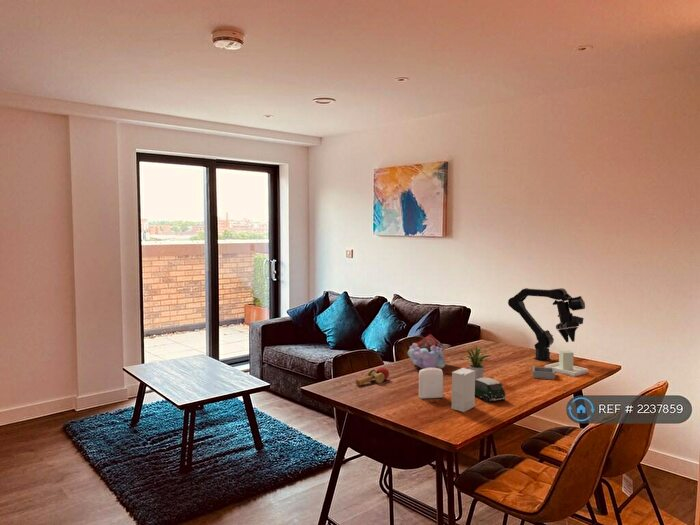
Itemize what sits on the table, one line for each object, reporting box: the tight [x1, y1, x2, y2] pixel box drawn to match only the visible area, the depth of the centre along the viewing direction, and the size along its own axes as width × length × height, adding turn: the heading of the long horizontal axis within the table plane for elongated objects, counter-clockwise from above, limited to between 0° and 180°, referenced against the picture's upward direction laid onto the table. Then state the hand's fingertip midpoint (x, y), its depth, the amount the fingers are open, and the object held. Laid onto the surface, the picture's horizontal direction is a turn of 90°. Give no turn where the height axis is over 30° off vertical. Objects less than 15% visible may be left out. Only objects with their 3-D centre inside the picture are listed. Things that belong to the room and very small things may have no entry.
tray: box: [543, 361, 589, 378], centre depth 252 cm, size 16×12×2 cm
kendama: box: [355, 366, 390, 387], centre depth 232 cm, size 8×6×18 cm
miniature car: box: [475, 377, 507, 404], centre depth 211 cm, size 9×18×8 cm, turn 24°
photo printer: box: [418, 368, 444, 399], centre depth 210 cm, size 10×4×12 cm, turn 96°
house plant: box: [465, 344, 492, 380], centre depth 236 cm, size 14×14×16 cm
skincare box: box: [450, 367, 476, 413], centre depth 197 cm, size 8×6×15 cm
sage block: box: [558, 350, 575, 371], centre depth 251 cm, size 5×5×9 cm
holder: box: [532, 366, 556, 381], centre depth 243 cm, size 10×10×3 cm
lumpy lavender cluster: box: [407, 333, 452, 370], centre depth 259 cm, size 20×22×18 cm
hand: (570, 341), depth 263 cm, fingers open, 9 cm apart
